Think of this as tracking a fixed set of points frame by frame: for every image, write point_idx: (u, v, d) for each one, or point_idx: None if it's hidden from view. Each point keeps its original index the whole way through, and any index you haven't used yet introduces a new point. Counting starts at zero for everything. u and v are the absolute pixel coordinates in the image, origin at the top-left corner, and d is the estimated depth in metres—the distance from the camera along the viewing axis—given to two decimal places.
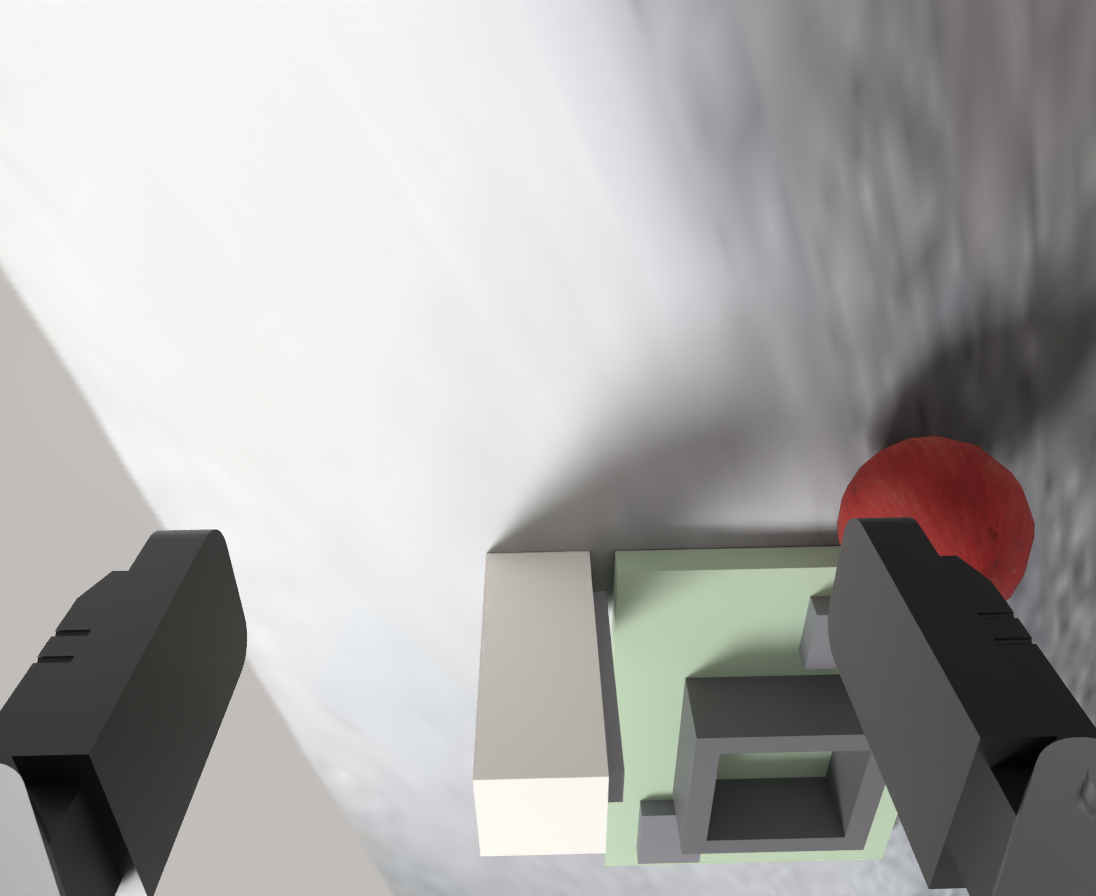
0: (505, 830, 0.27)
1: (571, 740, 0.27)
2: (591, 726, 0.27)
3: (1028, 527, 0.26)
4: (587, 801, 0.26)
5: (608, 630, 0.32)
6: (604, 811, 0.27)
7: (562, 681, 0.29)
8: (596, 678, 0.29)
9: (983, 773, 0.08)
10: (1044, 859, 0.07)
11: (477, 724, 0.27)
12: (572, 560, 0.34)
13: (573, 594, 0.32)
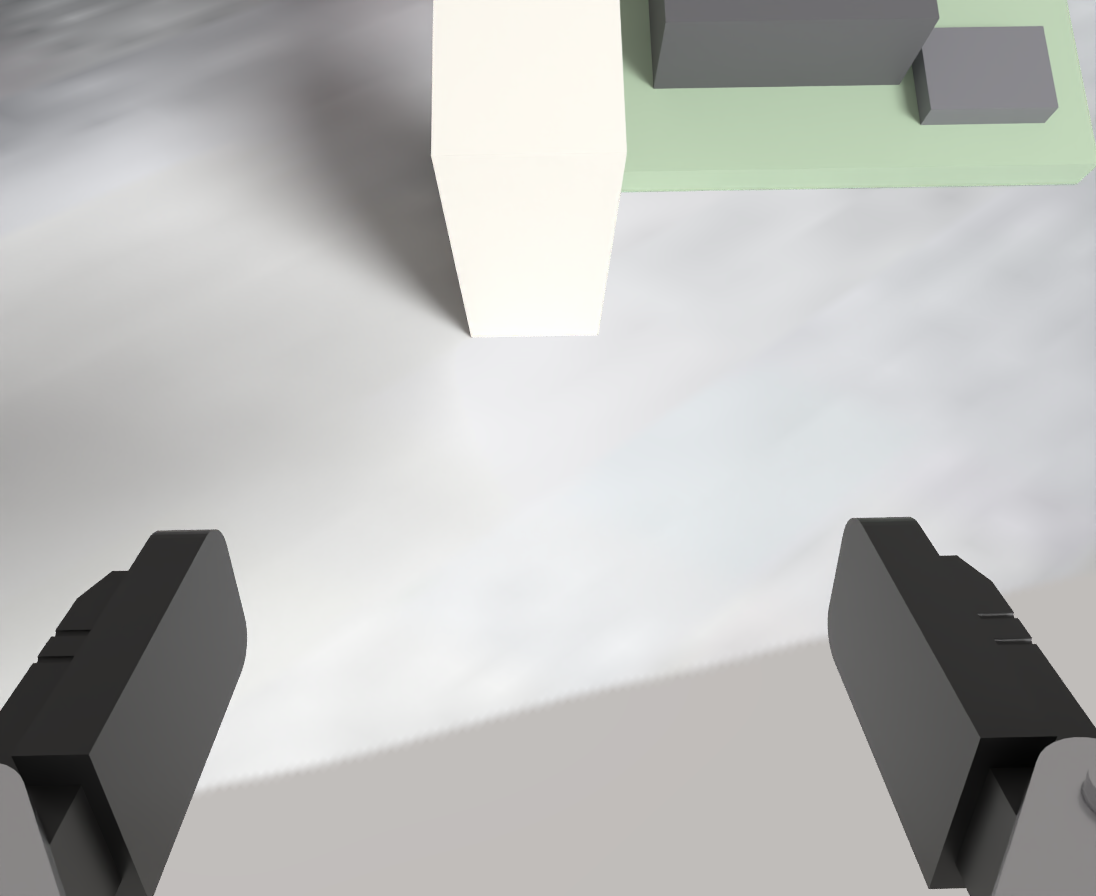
0: (559, 116, 0.18)
1: None
2: None
3: None
4: (489, 14, 0.19)
5: None
6: None
7: None
8: None
9: (983, 773, 0.08)
10: (1044, 859, 0.07)
11: (442, 204, 0.20)
12: None
13: None
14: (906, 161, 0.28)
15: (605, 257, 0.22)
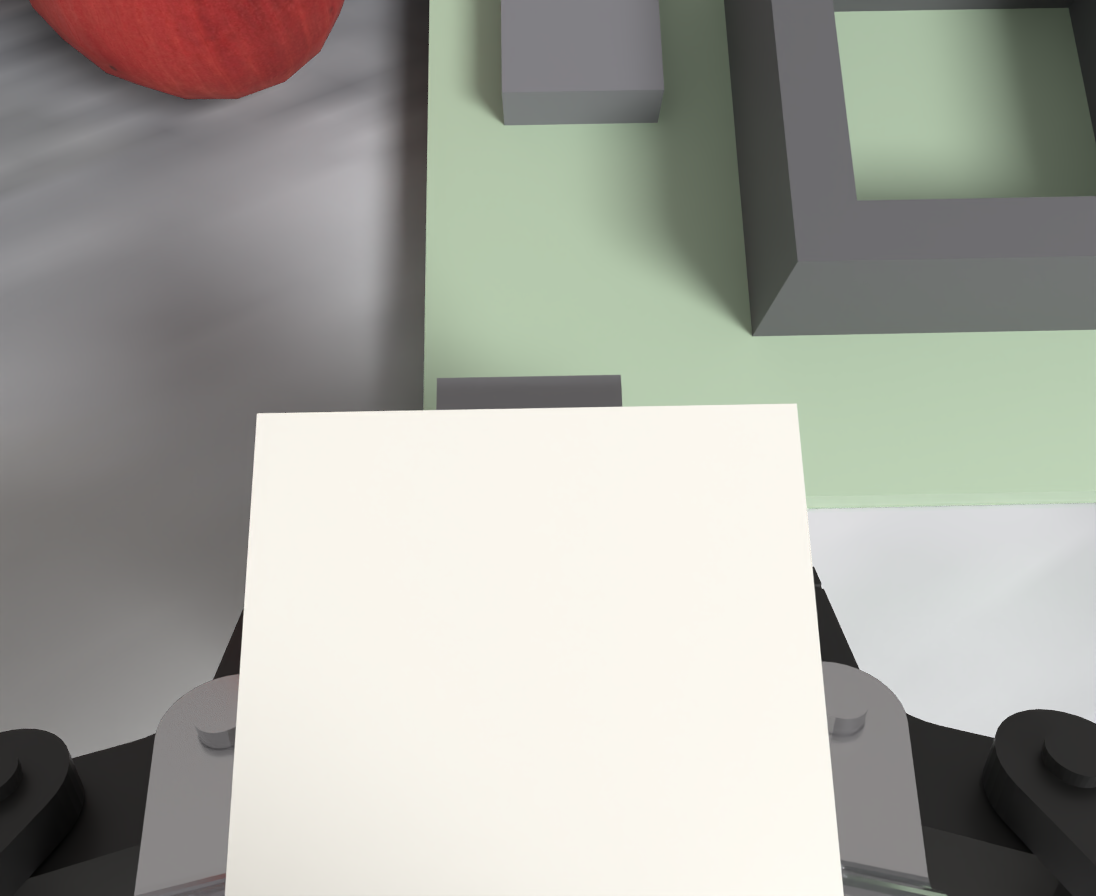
0: (630, 866, 0.06)
1: None
2: None
3: None
4: (417, 490, 0.06)
5: None
6: (491, 420, 0.06)
7: None
8: None
9: None
10: None
11: None
12: None
13: None
14: None
15: None
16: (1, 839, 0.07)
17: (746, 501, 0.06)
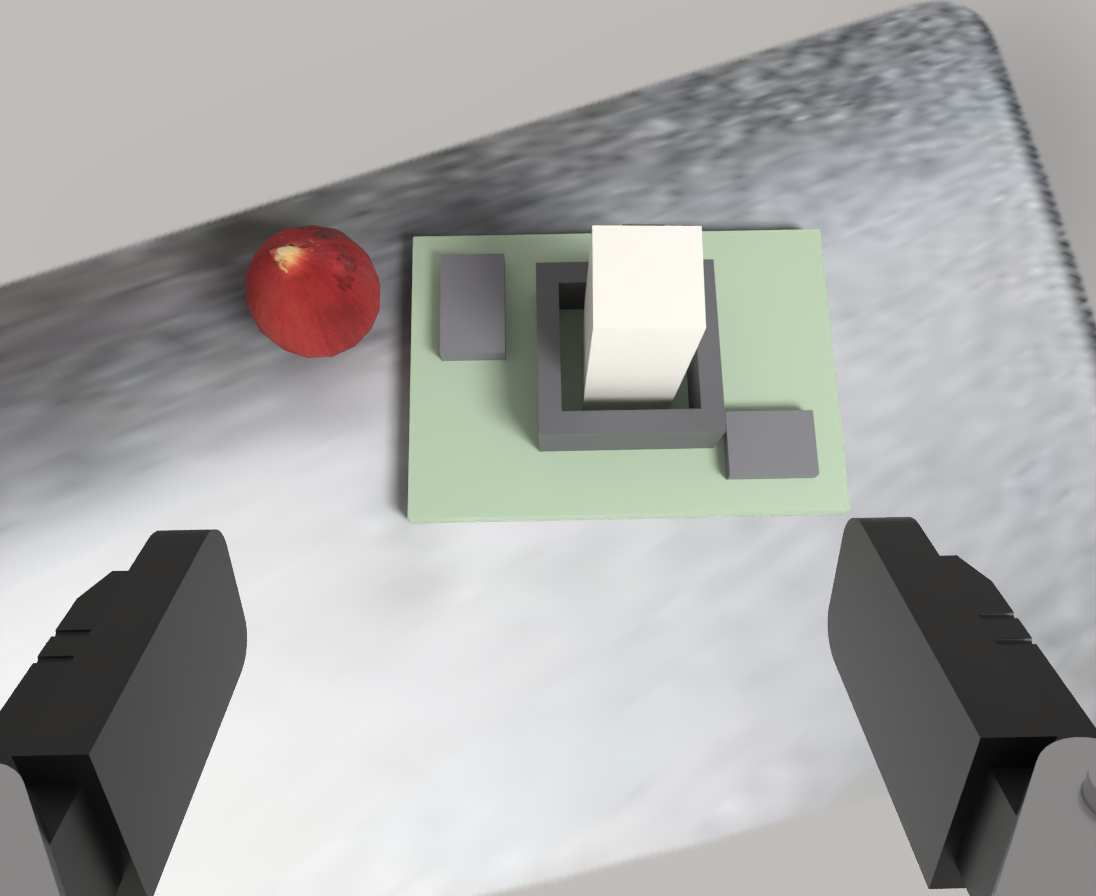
0: (666, 305, 0.31)
1: None
2: None
3: (274, 235, 0.38)
4: (625, 240, 0.32)
5: None
6: (639, 227, 0.32)
7: (587, 297, 0.35)
8: None
9: (983, 773, 0.08)
10: (1044, 859, 0.07)
11: (590, 346, 0.33)
12: (582, 338, 0.41)
13: None
14: (715, 508, 0.40)
15: (682, 372, 0.36)
16: None
17: (690, 244, 0.32)
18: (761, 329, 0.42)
